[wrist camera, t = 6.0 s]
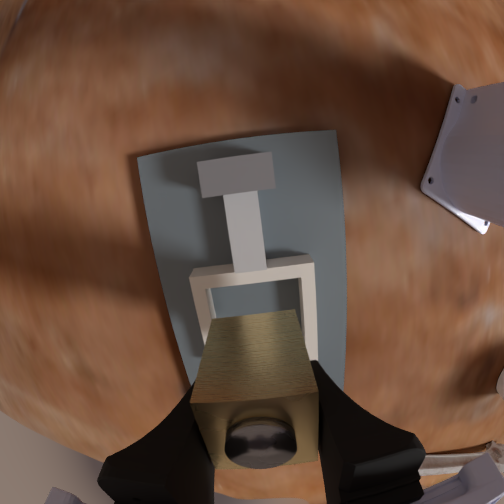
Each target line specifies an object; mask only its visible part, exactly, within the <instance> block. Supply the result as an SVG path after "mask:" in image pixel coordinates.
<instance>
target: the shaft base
mask: <svg viewBox="0 0 504 504" xmlns="http://www.w3.org/2000/svg"><path fill="white" fill-rule="evenodd" d="M137 161H138V168H139V175H140V181H141V187H142V193H143V199H144V205H145V210H146V215H147V221H148V226H149V231H150V236H151V241H152V245H153V250H154V255H155V259H156V263H157V268H158V272H159V276H160V280H161V284H162V289H163V292H164V296H165V300H166V304H167V308H168V312H169V315H170V319H171V323H172V326H173V330H174V333H175V337H176V340H177V343H178V347H179V350H180V353H181V356H182V360H183V363H184V366H185V369H186V372H187V375H188V378H189V381H190V384H191V386H192V384H193V383H194V381H195V380H196V377H197V373H198V369H199V365H200V362H201V358H202V354H203V350H204V347H205V343H206V339H207V335H208V332H209V328H210V324H211V321H212V319H214V318H224V317H234V316H243V315H252V314H261V313H269V312H277V311H285V310H292V309H295V311H296V314H297V318H298V321H299V325H300V328H301V331H302V335H303V338H304V342H305V345H306V349H307V352H308V356H309V359H310V361H311V360H317V361H318V362H319V363H320V365H321V366H322V368H323V369H324V370H325V372H326V373H327V374H328V375H329V377H330V378H331V379H332V380H333V381H334V382H335V383H336V385H337V386H338V387H339V388H340V389H341V390H342V391H343V386H344V371H345V352H346V321H347V272H346V240H345V220H344V205H343V192H342V180H341V169H340V160H339V151H338V142H337V134H336V130H323V131H307V132H294V133H283V134H273V135H264V136H255V137H247V138H240V139H232V140H225V141H219V142H213V143H206V144H201V145H195V146H189V147H184V148H179V149H174V150H169V151H164V152H159V153H155V154H150V155H146V156H141V157H137Z"/></svg>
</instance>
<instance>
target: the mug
mask: <svg viewBox="0 0 504 504" xmlns="http://www.w3.org/2000/svg"><path fill="white" fill-rule="evenodd" d="M496 389H497V392H498V393H499V395H500V396H501V397H502V398H503V399H504V369H503V370H502V372H501V374H500V376H499V379H498V382H497V386H496Z"/></svg>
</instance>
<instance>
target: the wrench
mask: <svg viewBox="0 0 504 504" xmlns="http://www.w3.org/2000/svg"><path fill="white" fill-rule="evenodd" d="M486 447H487V448H486V451H485V452H478V453H466V454H444V455H426V456H425V459H424V461H423V463H422V465H421V466H420V468H419V470H418V472H419V474H420V476H425V475H438V474H448V473H456V472H459V471H460V470H461V468H462V467H463V466H464V465H466V464H467V463H468V462H470V461H472V460H474V459H476V458H477V457H479V456H481V455H483V454H484V453H486V452H488V453H489V454H490V456H491V458H492V459H493V461H494V463H495V464H496V466H497V468H498V469H499V471H500V472H503V473H504V444H496V443H495V442H494V441H493V440H492V441H491V442H490V443H488V444H487V445H486Z"/></svg>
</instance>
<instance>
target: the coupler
mask: <svg viewBox="0 0 504 504" xmlns="http://www.w3.org/2000/svg"><path fill="white" fill-rule="evenodd" d="M190 405H191V408H192V411H193V414H194V416H195V419H196V422H197V424H198V427H199V430H200V432H201V435H202V437H203V440H204V442H205V445H206V447H207V450H208V452H209V455H210V457H211V459H212V462H213V464H214V466H215V469H246V468H253V469H266V468H273V467H277V466H283V465H292V464H299V463H306V462H312V461H318V428H319V391H318V387H317V384H316V380H315V377H314V373H313V370H312V366H311V363H310V359H309V356H308V352H307V349H306V345H305V342H304V338H303V335H302V331H301V328H300V325H299V321H298V318H297V314H296V311H295V309H292V310H285V311H277V312H269V313H261V314H252V315H243V316H234V317H224V318H214V319H212V321H211V324H210V328H209V332H208V335H207V339H206V343H205V347H204V350H203V354H202V358H201V362H200V365H199V369H198V373H197V377H196V381H195V384H194V388H193V392H192V396H191V400H190Z"/></svg>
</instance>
